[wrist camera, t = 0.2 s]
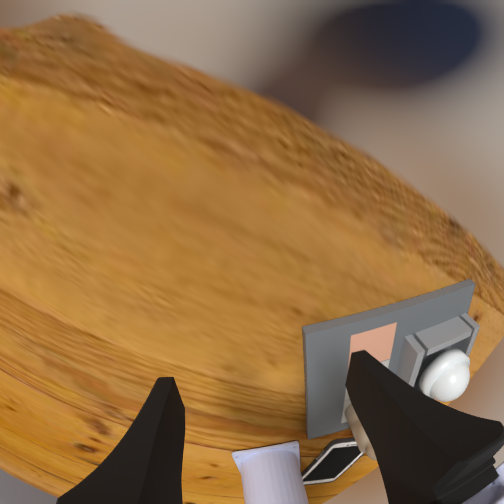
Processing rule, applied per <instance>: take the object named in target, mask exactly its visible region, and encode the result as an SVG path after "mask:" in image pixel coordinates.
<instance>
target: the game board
mask: <svg viewBox="0 0 504 504" xmlns="http://www.w3.org/2000/svg"><path fill="white" fill-rule="evenodd" d="M474 287H475V283H474V282H473V281H472V280H470V279H468V280H465V281H462V282H459V283H456V284H454V285H451V286H448V287H445V288H442V289H439V290H436V291H433V292H430V293H426V294H423V295H420V296H417V297H414V298H410V299H407V300H404V301H401V302H397V303H394V304H390V305H387V306H383V307H380V308H376V309H372V310H369V311H365V312H361V313H357V314H353V315H350V316H346V317H342V318H337V319H333V320H329V321H325V322H321V323H316V324H312V325H307V326H303V327H302V333H303V352H304V374H305V402H306V434H307V437H308V439H312V438H316V437H320V436H324V435H328V434H331V433H335V432H338V431H342V430H345V429H348V428H350V426H349V424H348V421H347V419H346V417H345V410H346V408H347V407H348V406H349V405H350V404H351V401H350V398H349V395H348V392H347V389H346V386H345V383H346V379H347V374H348V369H349V364H350V358H351V353H352V352H357V351H361V350H366V351H367V352H368V353H370V354H371V355H372V356H373V357H374V358H376V359H377V360H378V361H379V362H381V363H382V364H383V365H384V366H386V367H387V368H388V369H389V370H391V371H392V372H393V373H394V374H396V375H397V376H398V377H400V378H401V379H402V380H404V381H405V382H407V383H408V384H409V385H411V386H412V387H414V388H416V389H417V390H419V391H420V392H422V390H421V389H420V387H419V380H420V377H421V375H422V374H423V372H424V371H425V369H426V368H427V367H428V366H429V364H430V363H431V362H432V361H433V360H434V359H436V358H437V357H438V356H439V355H440V354H442V353H443V352H445V351H447V350H449V349H451V348H460V349H461V350H462V351H463V352H464V354H465V355H466V356H467V357H469V354H470V352H471V349H472V347H473V344H474V341H475V338H476V336H477V333H478V330H479V327H480V326H479V325H478V324H477V323H476V322H475V321H474V320H473V319H472V318H471V317H470V316H469V315H468V311H469V307H470V303H471V300H472V296H473V291H474ZM422 393H423V392H422ZM423 394H424V393H423Z"/></svg>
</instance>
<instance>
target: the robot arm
mask: <svg viewBox="0 0 504 504" xmlns="http://www.w3.org/2000/svg"><path fill="white" fill-rule="evenodd" d="M345 386H346V389H347V392H348V395H349V398H350V401H351V404H352V406H353V408H354V411H355V413H356V415H357V417H358V419H359V421H360V423H361V425H362V427H363V429H364V431H365V433H366V435H367V437H368V439H369V441H370V443H371V445H372V448H373V450H374V453H375V456H376V459H377V462H378V465H379V468H380V471H381V475H382V478H383V481H384V485H385V489H386V493H387V497H388V502H389V504H504V462H503V463H501V464H500V465H499V466H498V467H497V468H494V466H493V464H494V463H495V459H494V458H493V456H494V455H495V454H496V452H498V451H499V449H501V447H502V446H503V445H504V426H503V425H502V423H501V422H499V421H494V420H489V419H484V418H480V417H476V416H473V415H470V414H466V413H464V412H460V411H458V410H456V409H453V408H451V407H448V406H446V405H444V404H442V403H440V402H438V401H436V400H434V399H432V398H430V397H429V396H427V395H425V394H423V393H422V392H420V391H419V390H417V389H416V388H414V387H412V386H411V385H409V384H408V383H407V382H405V381H404V380H402V379H401V378H400V377H398V376H397V375H396V374H394V373H393V372H392V371H391V370H389V369H388V368H387V367H386V366H384V365H383V364H382V363H381V362H379V361H378V360H377V359H376V358H374V357H373V356H372V355H371V354H370V353H368V352H367V351H366V350H361V351H357V352H352V353H351V358H350V364H349V369H348V374H347V379H346V383H345ZM184 438H185V407H184V405H183V402H182V399H181V397H180V394H179V391H178V388H177V386H176V383H175V380H174V377H159V378H158V379H157V380H156V382H155V384H154V386H153V388H152V390H151V392H150V394H149V396H148V398H147V400H146V401H145V403H144V405H143V407H142V408H141V410H140V412H139V414H138V415H137V417H136V419H135V420H134V422H133V423H132V425H131V426H130V428H129V429H128V431H127V432H126V434H125V435H124V437H123V438H122V439H121V441H120V442H119V443H118V445H117V446H116V447H115V448H114V450H113V451H112V452H111V453H110V454H109V455H108V456H107V458H106V459H105V460H104V461H103V462H102V463H101V464H100V465H99V466H98V467H97V468H96V469H95V470H94V471H93V472H92V473H91V474H89V475H88V476H87V477H86V478H85V479H84V480H83V481H81V482H80V483H79V484H78V485H76V486H75V487H74V488H72V489H71V490H69V491H68V492H66V493H65V494H64V495H62V496H61V497H59V498H58V499H57V502H56V504H183V502H182V486H181V474H182V461H183V449H184ZM232 457H233V459H234V461H235V463H236V465H237V467H238V469H239V471H240V473H241V476H242V484H243V492H244V500H245V504H309V502H308V498H307V494H306V491H305V487H304V483H303V479H302V475H301V472H300V453H299V442H298V441H293V442H288V443H283V444H278V445H273V446H267V447H262V448H255V449H249V450H242V451H235V452H232Z"/></svg>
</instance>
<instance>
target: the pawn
mask: <svg viewBox="0 0 504 504" xmlns="http://www.w3.org/2000/svg"><path fill="white" fill-rule="evenodd" d="M345 417H346V419H347V421H348V424H349V426H350V428H351V431H352V433H353V436H354V438H355V440H356V443H357V445H358V448H359V450H360V452H362V453H367V455H368V456H369V457H370V458H371V459H373V460H377V459H376V456H375V453H374V450H373V448H372V445H371V443H370V441H369V439H368V437H367V435H366V433H365V431H364V429H363V427H362V425H361V423H360V421H359V419H358V417H357V415H356V413H355V411H354V408H353V406H352V404H350V405H349V406H348V407H347V408H346V410H345Z"/></svg>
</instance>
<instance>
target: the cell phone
mask: <svg viewBox="0 0 504 504" xmlns="http://www.w3.org/2000/svg"><path fill="white" fill-rule="evenodd" d="M363 454H364V453H362V452H360V450H359V448H358V445H357V443H356V440H355V438H354V437H353V438H343V439H336V440H333V441H331V442H330V443H329V444H328V445H327V446H326V447H325V448H324V450H323V452H322V453H321V454H320V455H319V456H318V457H317V458H316V459H315V460H314V461H313V462H312V463H311V464H310V465H309V466H308V467H307V468H306V469H305V470H304V471H303V472H302V473H301V475H302V479H303V483H304V485H313V484H321V483H328V482H333V481H335V480H336V479H337V478H338V477H340V476H341V475H342V474H343V473H344V472H345V471H346V470H347V469H348V468H350V467H351V466H352V465H353V464H354V463H355V462H356V461H357V460H358V459H359V458H360V457H361V456H362V455H363Z"/></svg>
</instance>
